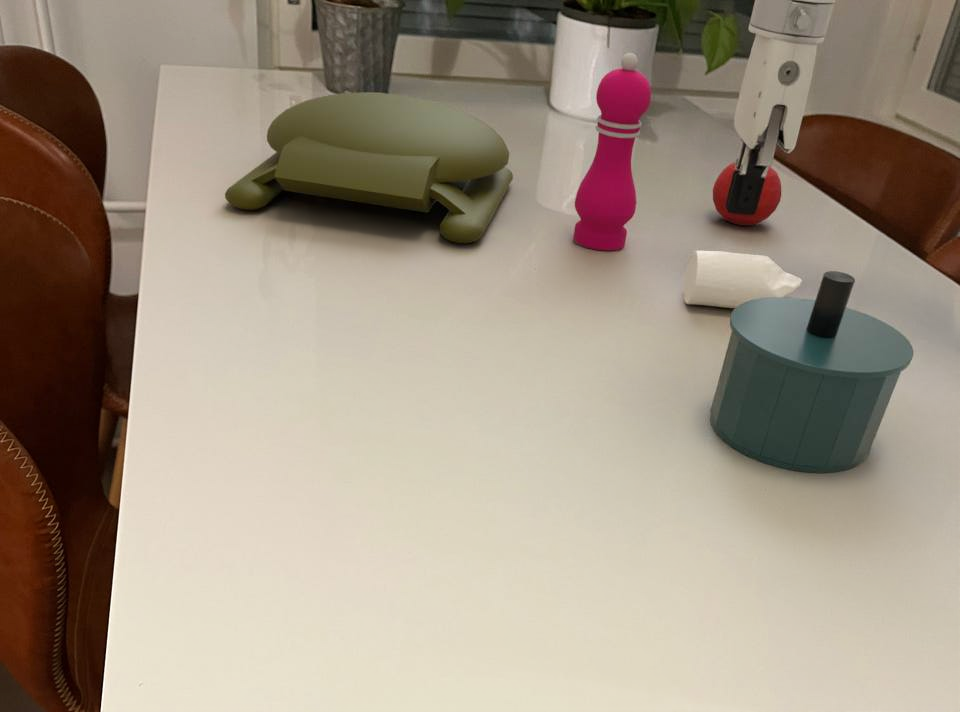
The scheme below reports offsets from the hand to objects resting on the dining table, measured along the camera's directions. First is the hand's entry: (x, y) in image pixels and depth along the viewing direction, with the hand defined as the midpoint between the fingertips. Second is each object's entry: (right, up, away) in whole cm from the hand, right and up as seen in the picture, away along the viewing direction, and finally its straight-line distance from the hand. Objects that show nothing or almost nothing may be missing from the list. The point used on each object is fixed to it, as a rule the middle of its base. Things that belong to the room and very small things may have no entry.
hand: (739, 211), depth 109 cm
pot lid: (-1, -23, -29) cm, 37 cm away
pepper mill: (-14, +1, +10) cm, 18 cm away
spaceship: (-41, +10, +18) cm, 46 cm away
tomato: (+6, +8, +22) cm, 24 cm away
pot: (-2, -29, -24) cm, 38 cm away
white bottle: (-1, -12, -2) cm, 12 cm away
